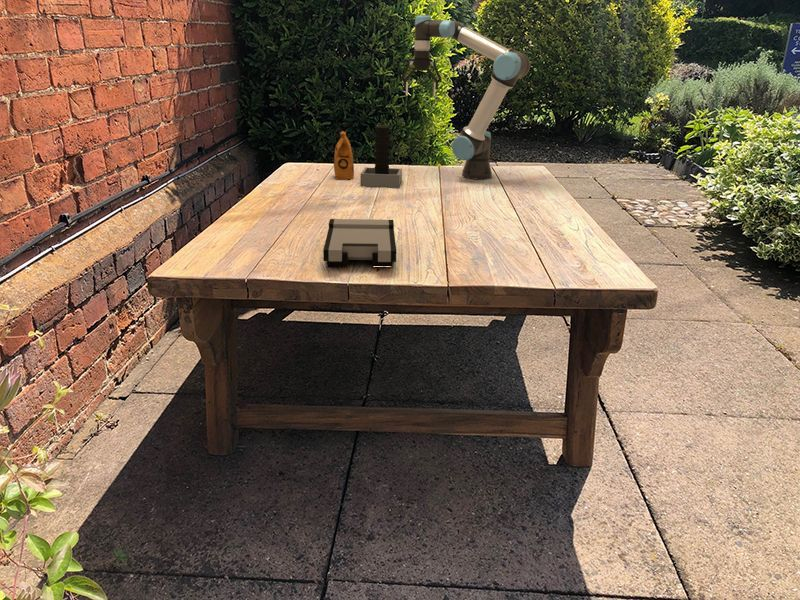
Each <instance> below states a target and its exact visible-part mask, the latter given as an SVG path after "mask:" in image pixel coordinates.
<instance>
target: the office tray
mask: <svg viewBox="0 0 800 600" xmlns="http://www.w3.org/2000/svg"><path fill="white" fill-rule="evenodd" d="M394 222H395V221H394V219H366V218H365V219H364V218H361V219H359V218H358V219H357V218H356V219H355V218H344V219H343V218H329V221H328V230H327V233H326V238H325V240H324V241H325V242H324V245H323V251H322V255H323V258H322V259H323V260H322V261H323V262H326V266H327V268H349V262H348V261H371V267H372V266H392V267H393V265H394V264H393V263H396V262H397V246H396V235H395V223H394Z"/></svg>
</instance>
